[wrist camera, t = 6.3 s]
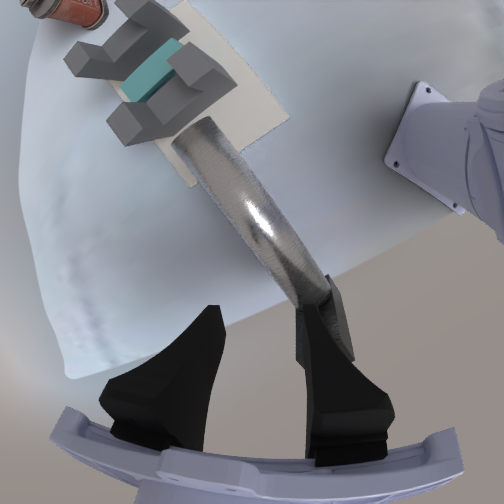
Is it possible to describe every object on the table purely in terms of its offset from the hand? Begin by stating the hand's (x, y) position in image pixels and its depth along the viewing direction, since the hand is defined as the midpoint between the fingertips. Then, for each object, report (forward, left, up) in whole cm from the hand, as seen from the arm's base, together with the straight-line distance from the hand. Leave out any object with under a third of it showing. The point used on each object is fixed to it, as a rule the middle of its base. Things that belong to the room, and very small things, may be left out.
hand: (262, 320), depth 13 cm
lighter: (+25, -16, -10) cm, 31 cm away
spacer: (+11, -9, -9) cm, 17 cm away
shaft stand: (+11, -9, -10) cm, 18 cm away
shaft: (+1, -3, -5) cm, 6 cm away
